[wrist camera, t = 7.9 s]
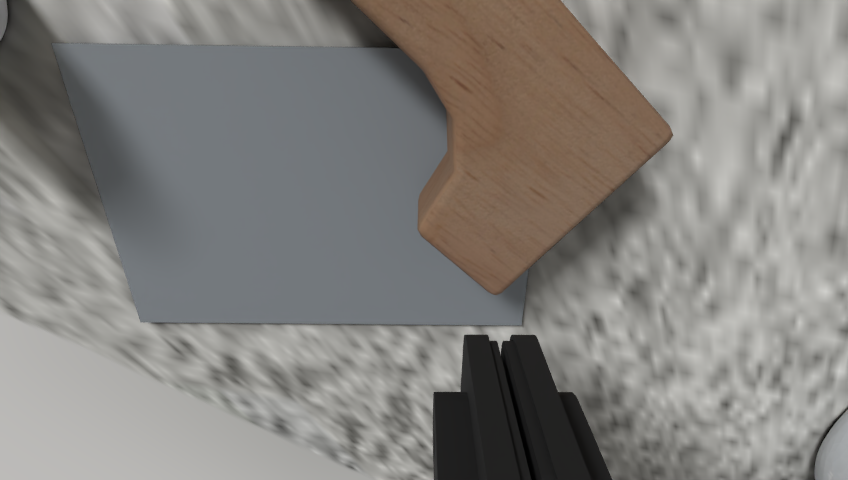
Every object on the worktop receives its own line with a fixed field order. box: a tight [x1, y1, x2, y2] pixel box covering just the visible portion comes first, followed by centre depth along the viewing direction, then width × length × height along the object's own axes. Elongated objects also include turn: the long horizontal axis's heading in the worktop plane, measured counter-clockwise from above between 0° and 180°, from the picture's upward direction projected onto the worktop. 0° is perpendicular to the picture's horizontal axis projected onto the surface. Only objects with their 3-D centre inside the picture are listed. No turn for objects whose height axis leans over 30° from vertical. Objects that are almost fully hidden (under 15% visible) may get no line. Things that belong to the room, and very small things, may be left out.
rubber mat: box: [51, 43, 529, 325], centre depth 21 cm, size 21×14×1 cm, turn 89°
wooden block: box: [351, 0, 673, 295], centre depth 16 cm, size 9×4×18 cm
